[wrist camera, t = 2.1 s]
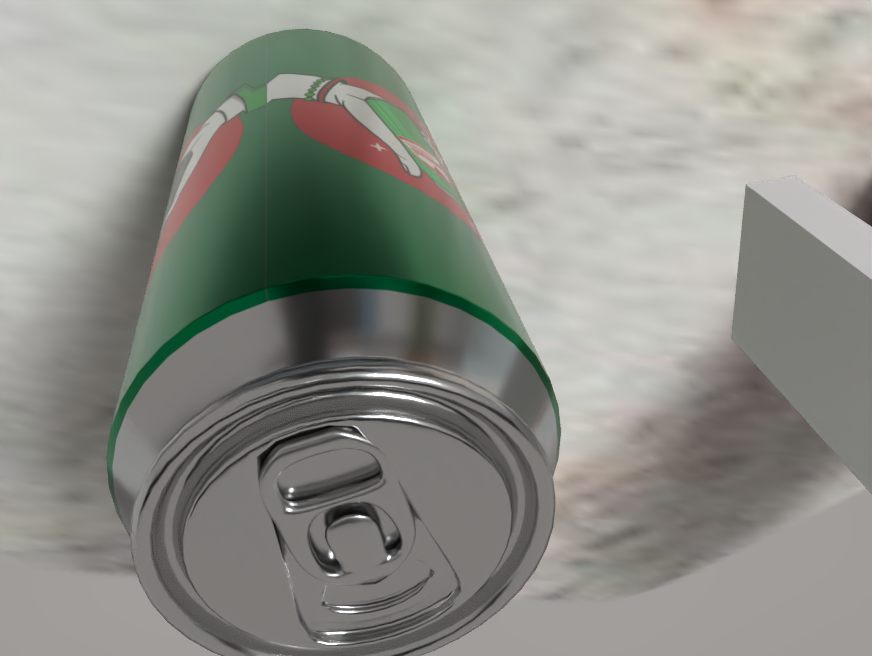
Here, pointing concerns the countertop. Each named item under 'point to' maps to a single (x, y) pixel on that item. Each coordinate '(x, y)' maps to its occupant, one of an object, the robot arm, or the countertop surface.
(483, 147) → the countertop surface
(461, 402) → the soda can
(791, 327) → the robot arm
